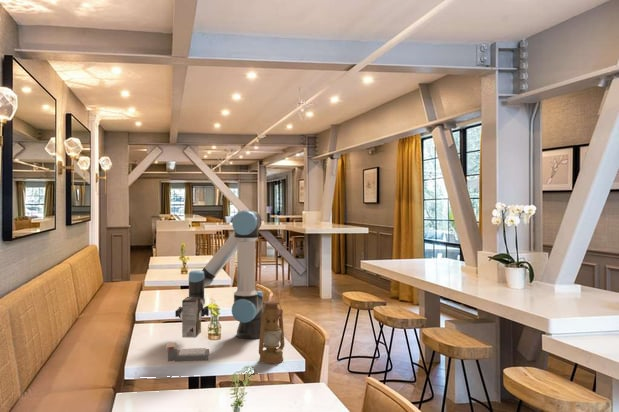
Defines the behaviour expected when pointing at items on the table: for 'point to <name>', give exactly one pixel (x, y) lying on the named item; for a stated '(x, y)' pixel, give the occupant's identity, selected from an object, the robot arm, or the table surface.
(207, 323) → the table surface
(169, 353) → the scale
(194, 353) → the scale plate
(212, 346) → the table surface
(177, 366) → the table surface
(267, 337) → the lantern
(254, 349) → the table surface
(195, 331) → the coffee box
